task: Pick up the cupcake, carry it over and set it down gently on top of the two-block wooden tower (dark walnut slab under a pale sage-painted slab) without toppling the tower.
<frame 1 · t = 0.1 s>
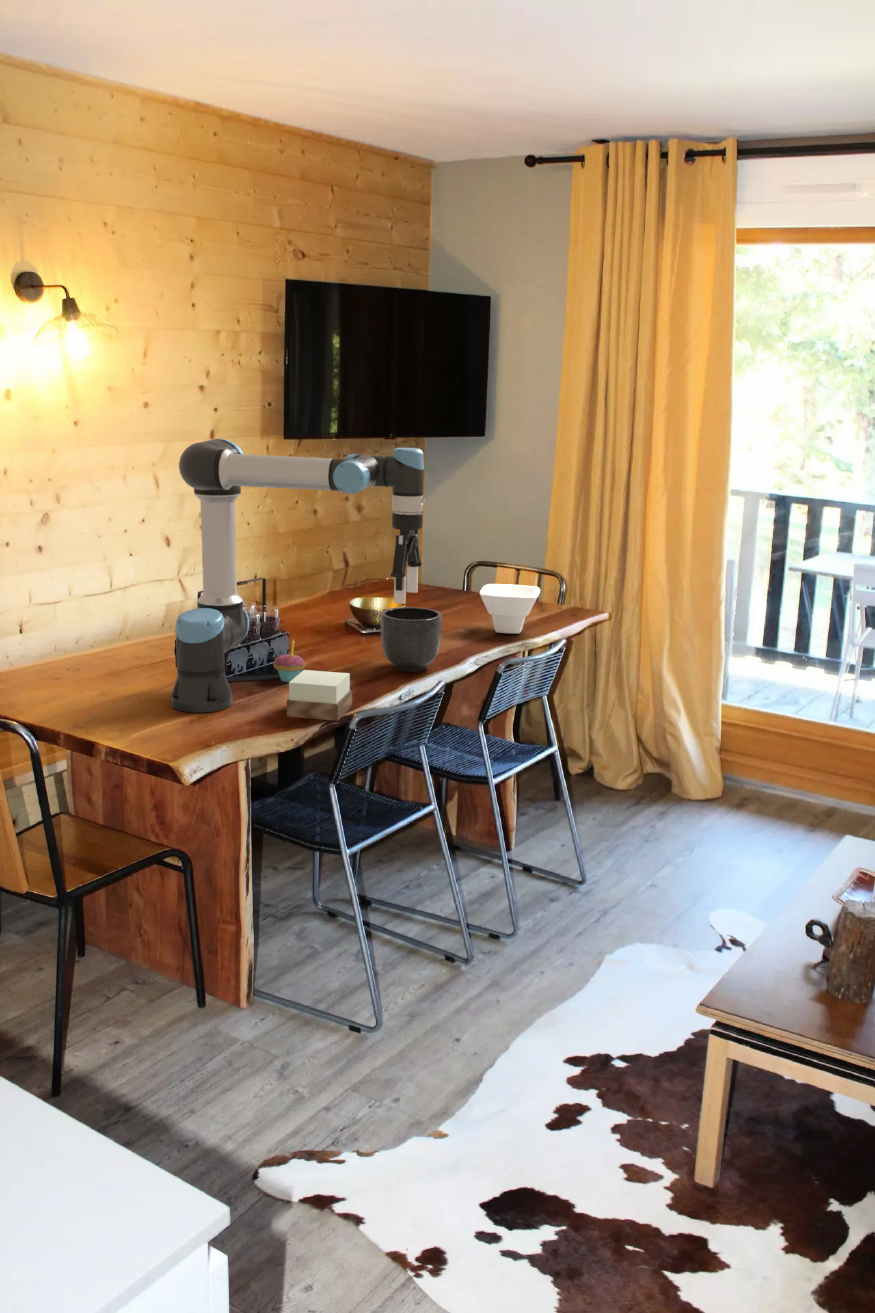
hand: (405, 597, 288), 28 cm above the table, fingers open, 13 cm apart
cupcake: (289, 680, 315), on the table
tower base block: (320, 712, 289), on the table, touching tower top block
planter: (410, 668, 329), on the table
tower top block: (319, 695, 288), point 4 cm above the table, touching tower base block
bowl: (508, 633, 374), on the table
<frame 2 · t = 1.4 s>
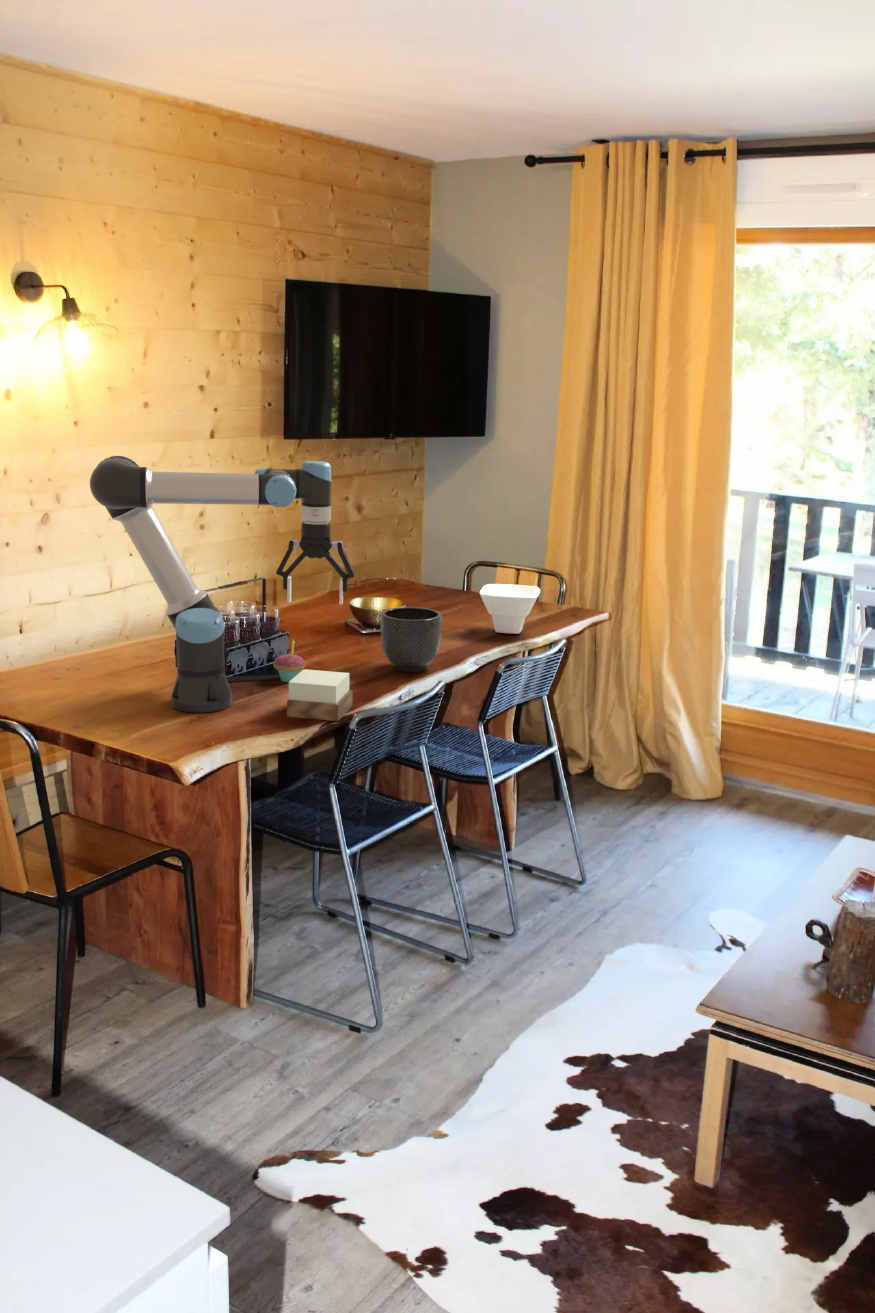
hand: (315, 602, 304), 23 cm above the table, fingers open, 13 cm apart
tower base block: (320, 712, 289), on the table
tower top block: (319, 694, 288), point 4 cm above the table
everything else where it was.
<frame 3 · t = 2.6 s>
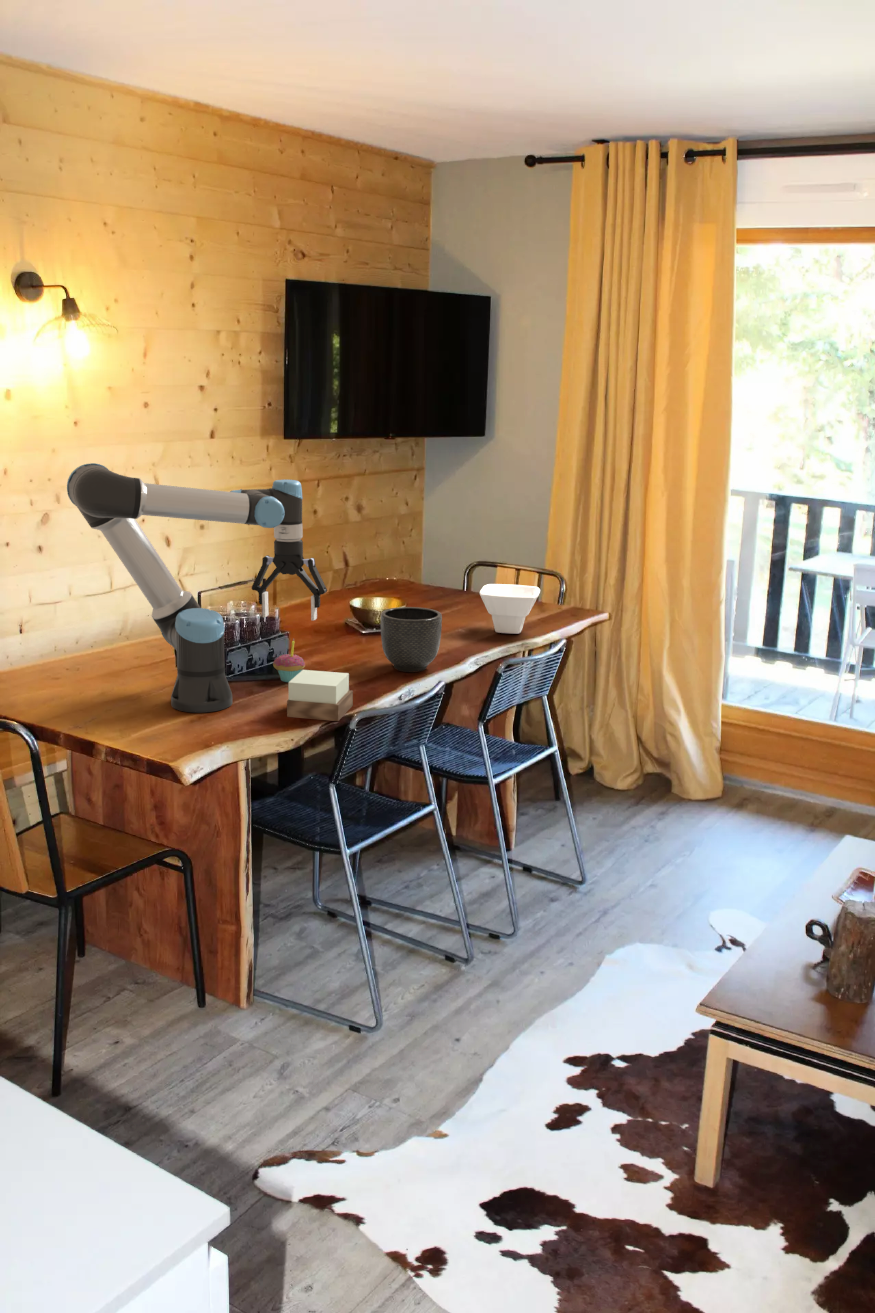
hand: (289, 617, 310), 17 cm above the table, fingers open, 13 cm apart
tower base block: (320, 712, 289), on the table, touching tower top block
tower top block: (319, 695, 288), point 4 cm above the table, touching tower base block
everything else where it was.
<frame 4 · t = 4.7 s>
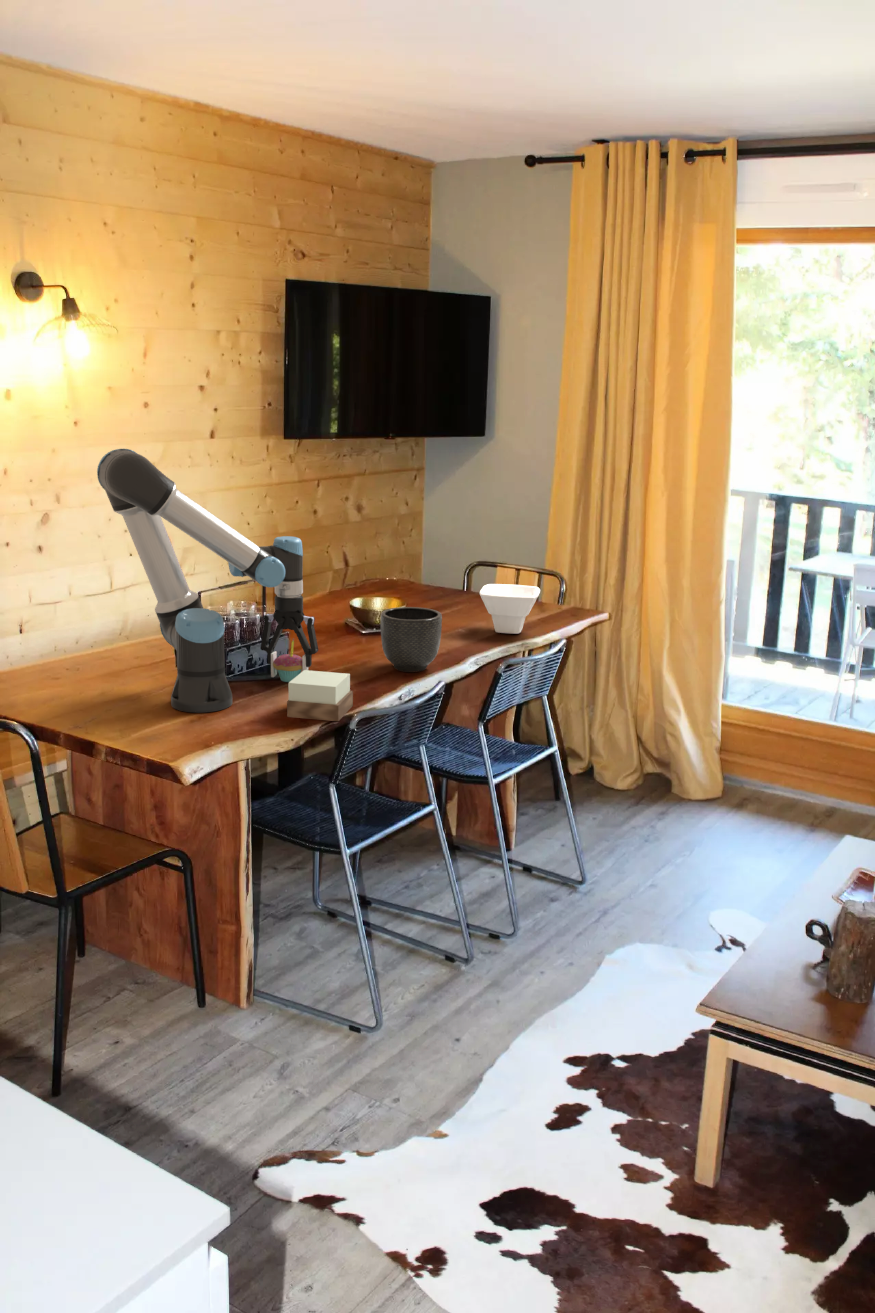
hand: (289, 676, 315), 1 cm above the table, fingers closed on cupcake, 8 cm apart
cupcake: (289, 680, 315), on the table, touching gripper
tower base block: (320, 713, 289), on the table
tower top block: (319, 695, 288), point 4 cm above the table
everything else where it was.
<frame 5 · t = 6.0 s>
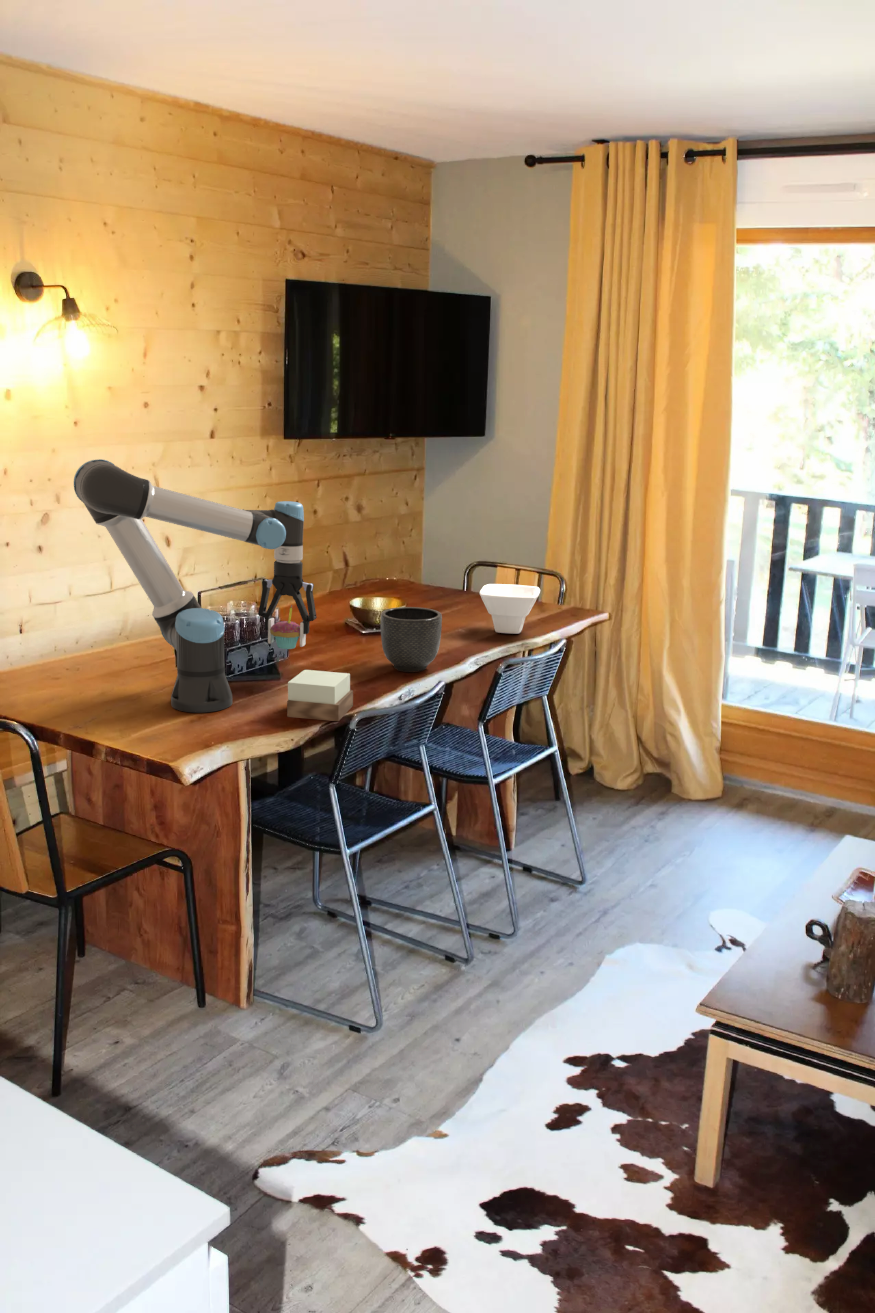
hand: (286, 643, 312), 10 cm above the table, fingers closed on cupcake, 8 cm apart
cupcake: (285, 647, 312), point 9 cm above the table, touching gripper
tower base block: (320, 712, 289), on the table, touching tower top block
tower top block: (319, 695, 288), point 4 cm above the table, touching tower base block
everything else where it was.
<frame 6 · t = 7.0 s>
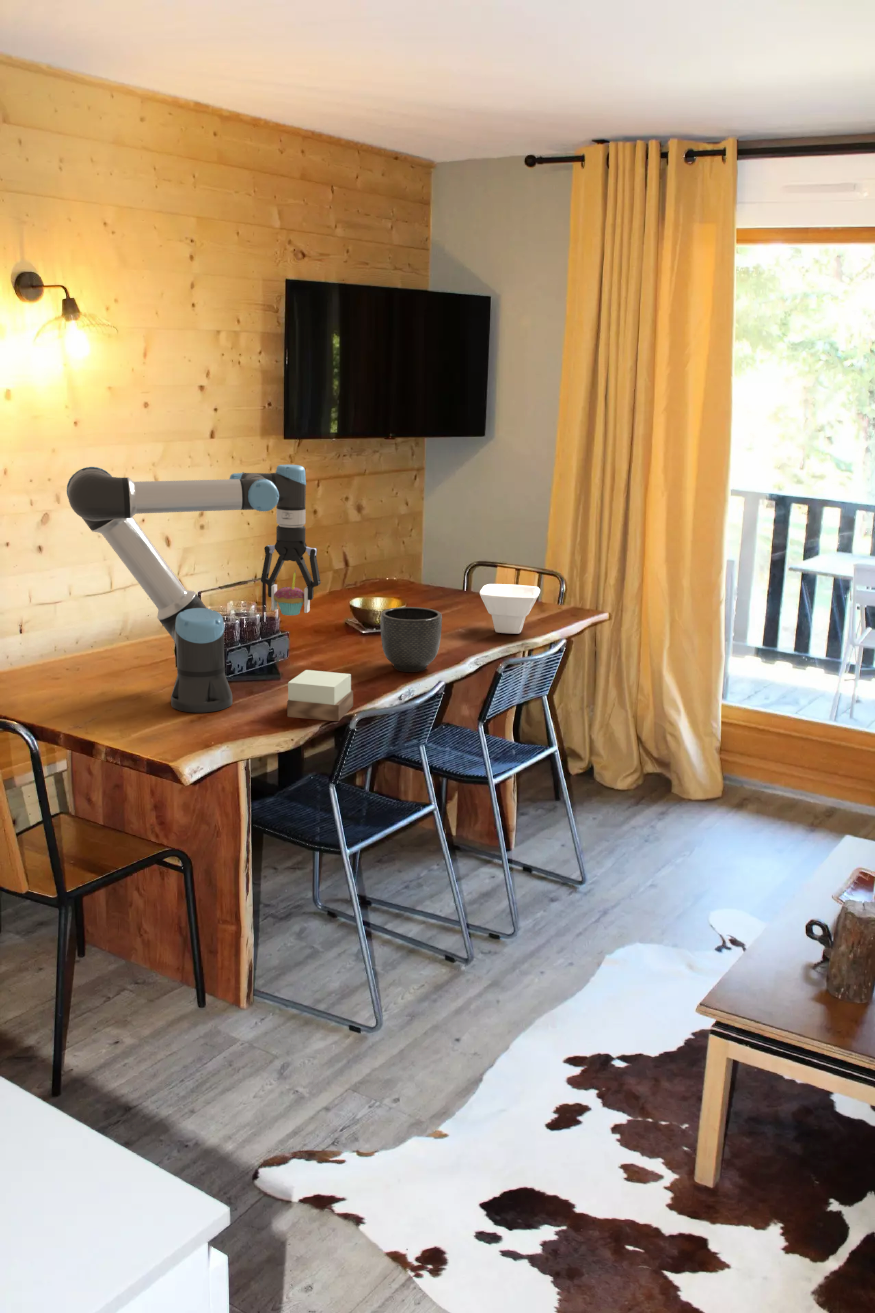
hand: (290, 610, 307), 20 cm above the table, fingers closed on cupcake, 8 cm apart
cupcake: (289, 614, 307), point 19 cm above the table, touching gripper
everything else where it was.
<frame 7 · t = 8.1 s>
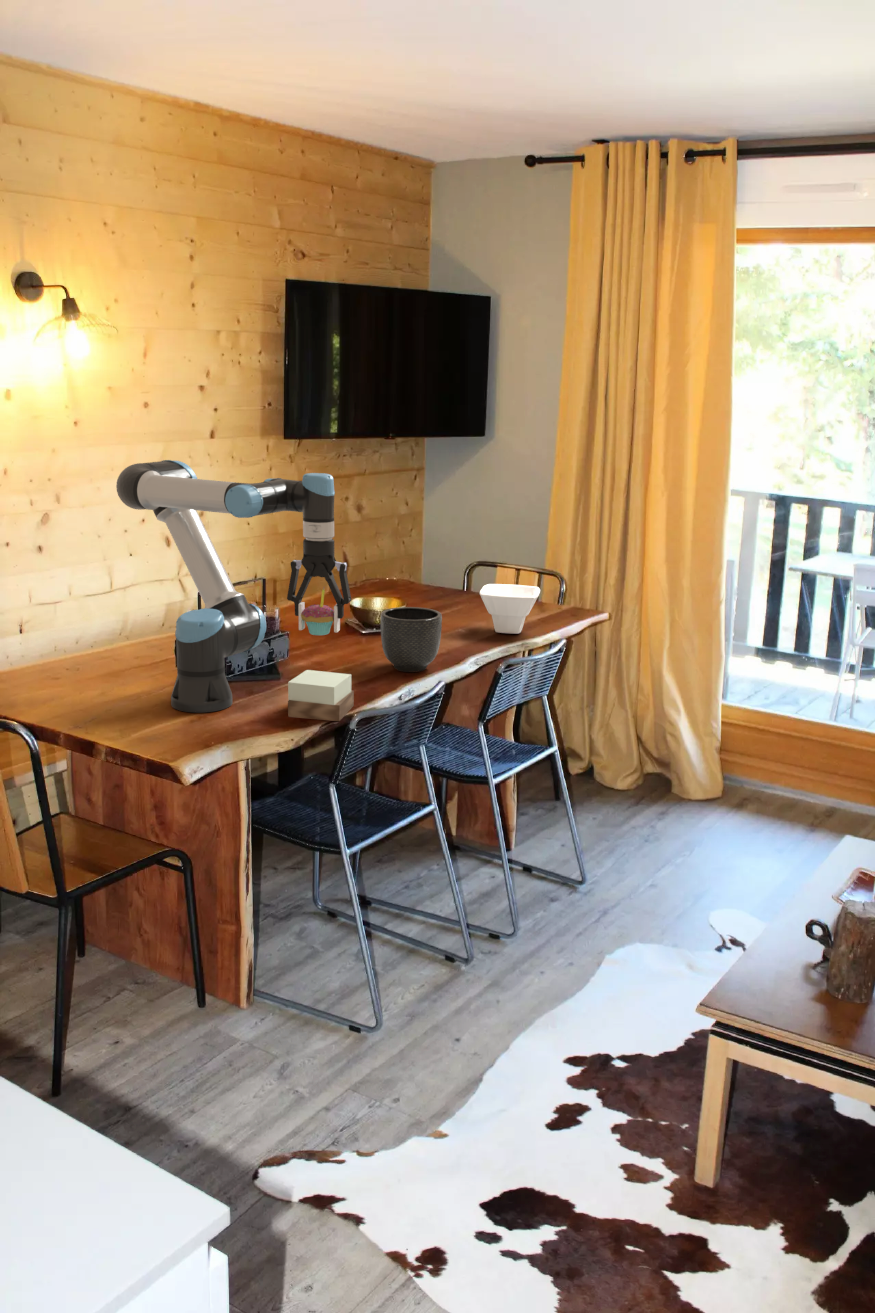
hand: (319, 629, 285), 20 cm above the table, fingers closed on cupcake, 8 cm apart
cupcake: (318, 634, 285), point 19 cm above the table, touching gripper
everything else where it was.
when the fingers open (10 cm above the table, at t = 11.0 s): cupcake moves 1 cm, point 9 cm above the table.
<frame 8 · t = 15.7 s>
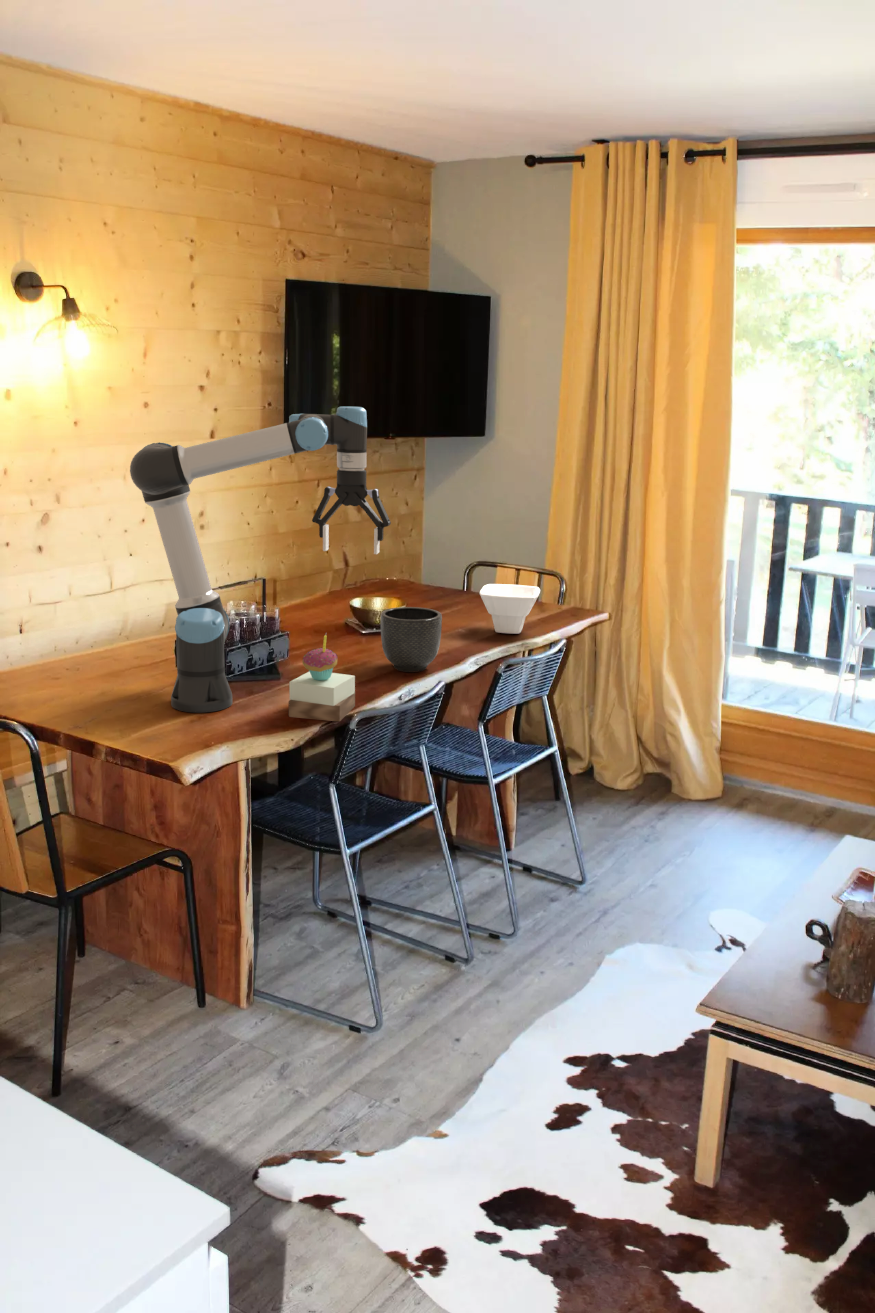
hand: (351, 551, 299), 37 cm above the table, fingers open, 13 cm apart
cupcake: (321, 677, 286), point 9 cm above the table
at the end: cupcake inside the target area on the tower top block (0.4 cm from its centre), point 5.1 cm above the tower top block's base; tower top block tilted 0°; tower top block point 3.9 cm above the table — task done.
